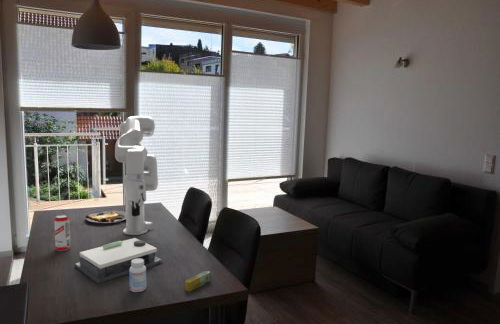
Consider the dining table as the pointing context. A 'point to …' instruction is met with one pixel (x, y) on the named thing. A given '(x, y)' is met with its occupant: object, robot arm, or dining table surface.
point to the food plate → (106, 217)
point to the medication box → (197, 281)
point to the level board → (117, 252)
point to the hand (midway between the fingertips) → (135, 215)
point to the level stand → (113, 268)
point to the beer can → (62, 233)
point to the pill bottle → (137, 275)
